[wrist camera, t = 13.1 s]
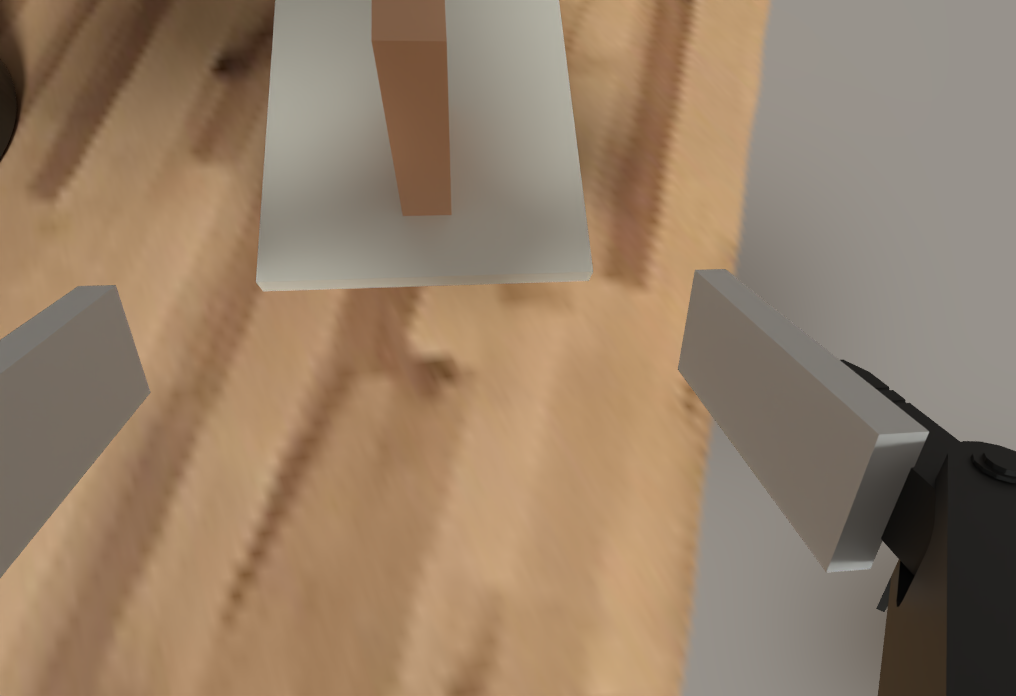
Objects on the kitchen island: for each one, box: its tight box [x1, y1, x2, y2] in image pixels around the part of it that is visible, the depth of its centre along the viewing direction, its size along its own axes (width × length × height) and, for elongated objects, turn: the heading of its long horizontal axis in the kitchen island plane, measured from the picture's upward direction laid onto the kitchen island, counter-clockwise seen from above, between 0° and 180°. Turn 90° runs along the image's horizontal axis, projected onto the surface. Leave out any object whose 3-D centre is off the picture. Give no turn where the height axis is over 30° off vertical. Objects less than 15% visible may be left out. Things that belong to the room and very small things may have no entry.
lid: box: [256, 0, 593, 291], centre depth 20 cm, size 16×12×9 cm
